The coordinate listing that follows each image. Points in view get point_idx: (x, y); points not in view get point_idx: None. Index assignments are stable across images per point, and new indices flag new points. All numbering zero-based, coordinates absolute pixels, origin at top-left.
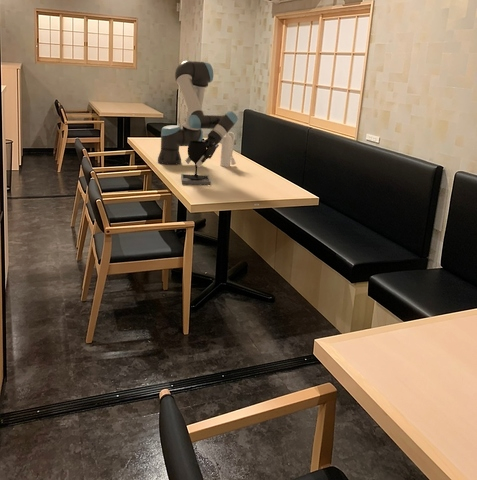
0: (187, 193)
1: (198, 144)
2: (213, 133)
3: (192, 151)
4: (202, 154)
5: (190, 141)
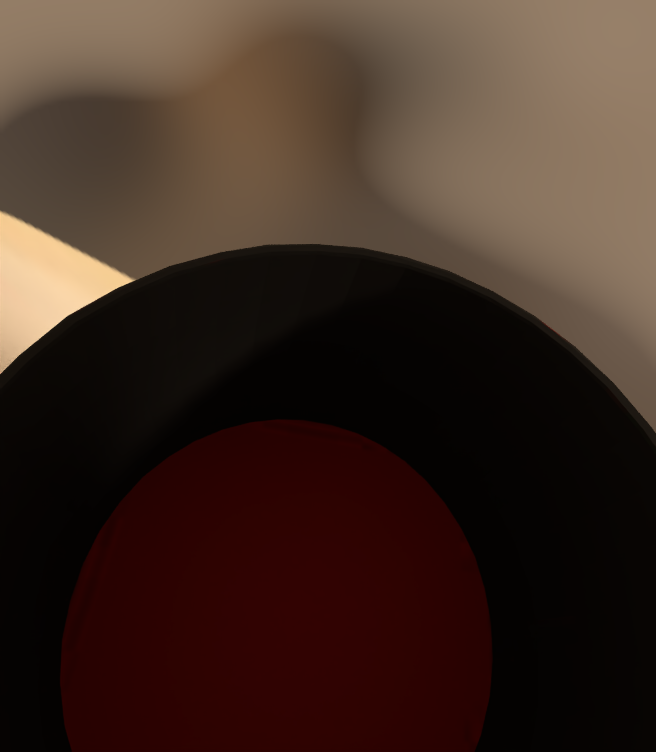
0: (16, 260)
1: (60, 343)
2: None
3: (237, 360)
4: (36, 569)
5: (636, 431)
